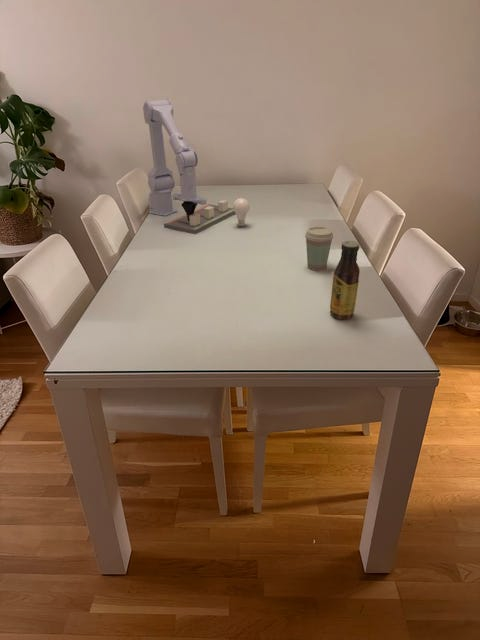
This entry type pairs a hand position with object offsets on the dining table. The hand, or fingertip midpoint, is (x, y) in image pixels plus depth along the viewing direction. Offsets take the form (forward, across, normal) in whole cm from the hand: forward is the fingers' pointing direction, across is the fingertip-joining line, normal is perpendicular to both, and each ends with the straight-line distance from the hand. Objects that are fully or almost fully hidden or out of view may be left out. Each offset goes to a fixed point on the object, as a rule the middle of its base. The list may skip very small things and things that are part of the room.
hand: (190, 220), depth 179 cm
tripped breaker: (+1, +2, 0) cm, 2 cm away
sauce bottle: (+3, +75, -35) cm, 83 cm away
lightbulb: (+3, +16, +11) cm, 20 cm away
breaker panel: (+3, -2, +10) cm, 11 cm away
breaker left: (+1, +2, +20) cm, 20 cm away
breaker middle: (+1, +2, +10) cm, 10 cm away
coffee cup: (+3, +57, -10) cm, 58 cm away
